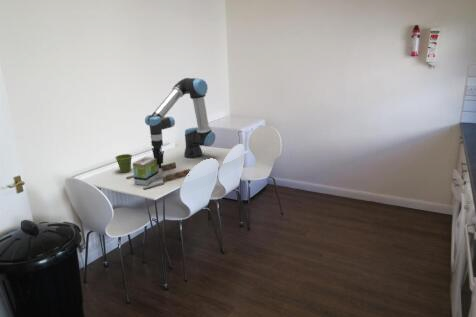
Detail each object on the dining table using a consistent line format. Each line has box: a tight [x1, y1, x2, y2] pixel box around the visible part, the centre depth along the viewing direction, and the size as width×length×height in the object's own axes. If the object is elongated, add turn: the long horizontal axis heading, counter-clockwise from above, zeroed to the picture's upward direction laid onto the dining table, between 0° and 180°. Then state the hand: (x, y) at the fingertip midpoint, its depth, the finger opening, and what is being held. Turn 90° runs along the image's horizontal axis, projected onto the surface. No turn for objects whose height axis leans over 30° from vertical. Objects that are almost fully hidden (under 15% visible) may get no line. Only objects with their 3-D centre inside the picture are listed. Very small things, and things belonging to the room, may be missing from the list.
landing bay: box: [125, 174, 165, 191], centre depth 239 cm, size 14×28×1 cm, turn 40°
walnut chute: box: [161, 162, 191, 183], centre depth 250 cm, size 21×22×4 cm
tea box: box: [132, 156, 159, 186], centre depth 237 cm, size 15×10×15 cm, turn 162°
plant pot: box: [114, 153, 133, 173], centre depth 258 cm, size 12×12×11 cm
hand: (159, 172), depth 245 cm, fingers closed
